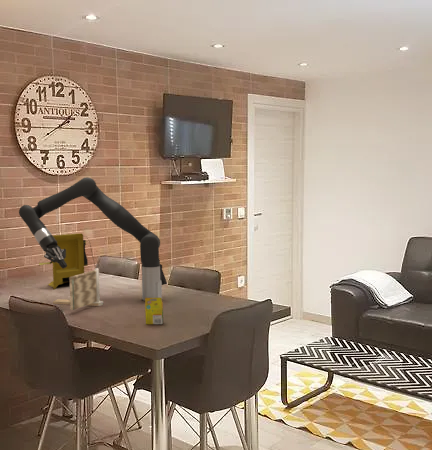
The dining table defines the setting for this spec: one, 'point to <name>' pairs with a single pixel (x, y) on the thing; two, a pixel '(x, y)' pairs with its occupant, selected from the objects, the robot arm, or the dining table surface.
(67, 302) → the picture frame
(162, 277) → the door stopper
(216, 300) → the dining table surface
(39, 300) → the dining table surface
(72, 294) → the beige zigzag patterned panel
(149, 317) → the crayon box
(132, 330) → the dining table surface
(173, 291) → the dining table surface
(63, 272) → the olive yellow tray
